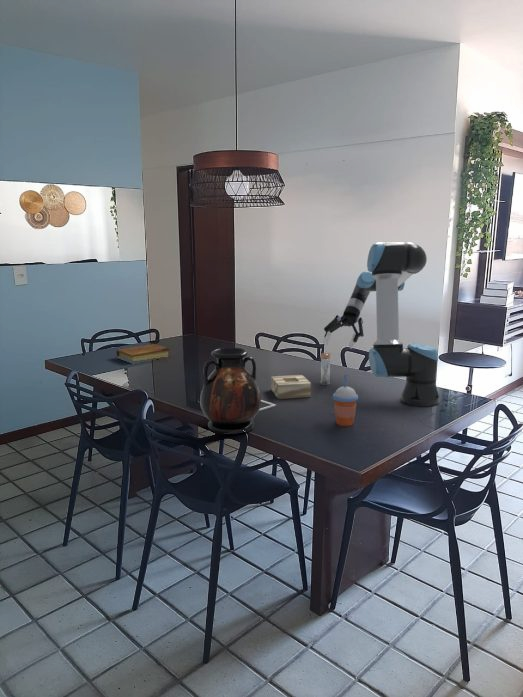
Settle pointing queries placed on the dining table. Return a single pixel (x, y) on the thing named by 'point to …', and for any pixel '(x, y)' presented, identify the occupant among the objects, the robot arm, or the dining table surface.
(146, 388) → the dining table surface
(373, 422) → the dining table surface
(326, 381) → the peg
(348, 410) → the cup with straw
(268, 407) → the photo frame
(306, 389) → the socket block
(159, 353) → the diary
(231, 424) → the amphora vase
